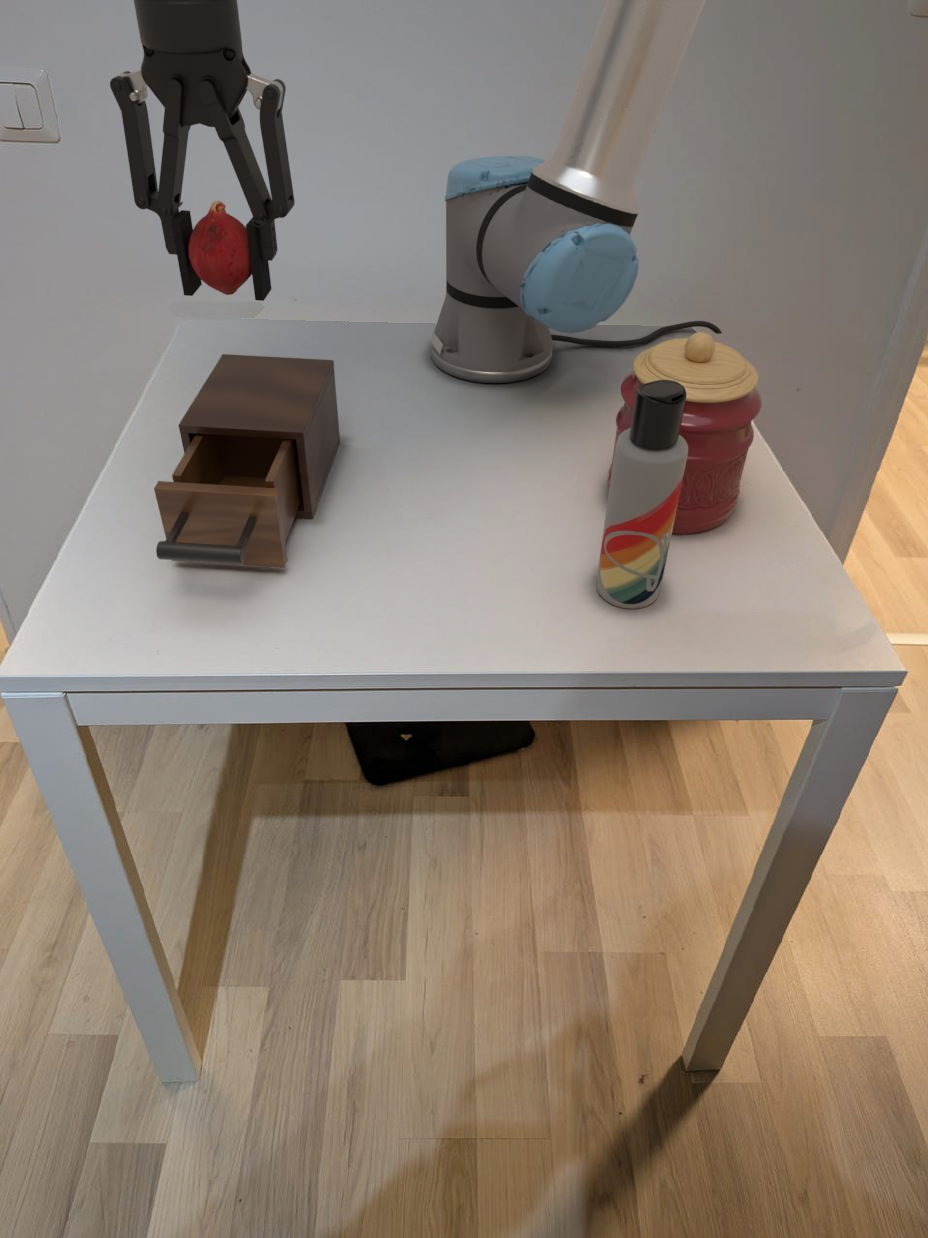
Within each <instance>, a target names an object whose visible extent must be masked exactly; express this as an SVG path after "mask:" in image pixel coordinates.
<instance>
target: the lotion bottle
mask: <svg viewBox="0 0 928 1238" xmlns="http://www.w3.org/2000/svg"><path fill="white" fill-rule="evenodd" d="M686 395H687V394H686V390H685V388H684V387H683V386H682V385H681V384H680V383H678V382H675V381H671V380H658V381H652V382H649V383H646V384H643V385H641V386H639V387H638V388H637V390H636V395H635V401H634V408H633V414H632V421H631V428H629V429H627V430H625V431H624V432H622V433H621V434H620V435H619V437H618V439H617V442H616V448H615V454H614V461H613V468H612V475H611V482H610V489H609V488H608V497H607V503H606V511H605V518H604V524H603V531H602V532H603V533H602V539H601V545H600V553H599V559H598V567H597V574H596V590H597V592H598V594H599V595H600V596H601V597H602V599H603V600H604V601H606V602H607V603H609V604H611V605H613V606H615V607H618V608H622V609H631V610H633V609H635V610H636V609H641V608H645V607H648V606H649V605H651V604H653V603H654V602H655V601H656V600H657V598H658V597H659V594H660V591H661V589H662V584H663V583H662V582H663V580H664V579H663V578H664V574H665V568H666V564H667V559H668V554H669V550H670V544H671V539H672V538H671V537H672V535H673V533H672V530H673V525H674V520H675V515H676V510H677V505H678V500H679V495H680V490H681V485H682V481H683V476H684V471H685V466H686V460H687V455H688V445H687V442H686V441H685V439H684V438H683V437H682V436H680V435H679V433H680V428H681V423H682V417H683V412H684V407H685V402H686Z"/></svg>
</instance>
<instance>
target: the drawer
mask: <svg viewBox="0 0 928 1238" xmlns="http://www.w3.org/2000/svg"><path fill="white" fill-rule="evenodd" d="M171 477H172V481H164V480H158V481H157V482H156V484H155V486H154V488H153V489H154V494H155V499H156V502H157V506H158V509H159V510H158V511H159V515H160V518H161V519H160V520H161V523H162V528H163V532H164V535H165V540H160V541H158V542H157V544H156V548H155V549H156V557H157V559H158V560H163V561H164V560H166V561H172V562H183V563H197V564H212V565H229V566H242V567H257V568H258V567H259V568H274V569H285V568H286V565H287V563H288V554H287V553H288V552H287V547H286V546H287V545H286V541H287V539H288V536H289V534H290V531H291V528H292V525H293V523H294V520H295V519H296V518H295V515H296V512H297V510H298V507H299V505H300V502H301V499H302V497H303V496H302V488H301V479H300V471H299V462H298V454H297V445H296V439H280V438H263V437H246V436H229V435H212V434H196V435H195V437H194V438H193V440H192V442H191V443H190V445H189V447H188V449H187V450H186V452H185V454H183V455H182V457H181V458H180V461H179V462H178V464H177V466H176V468H175V469H174V471H173V472H172V474H171Z"/></svg>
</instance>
